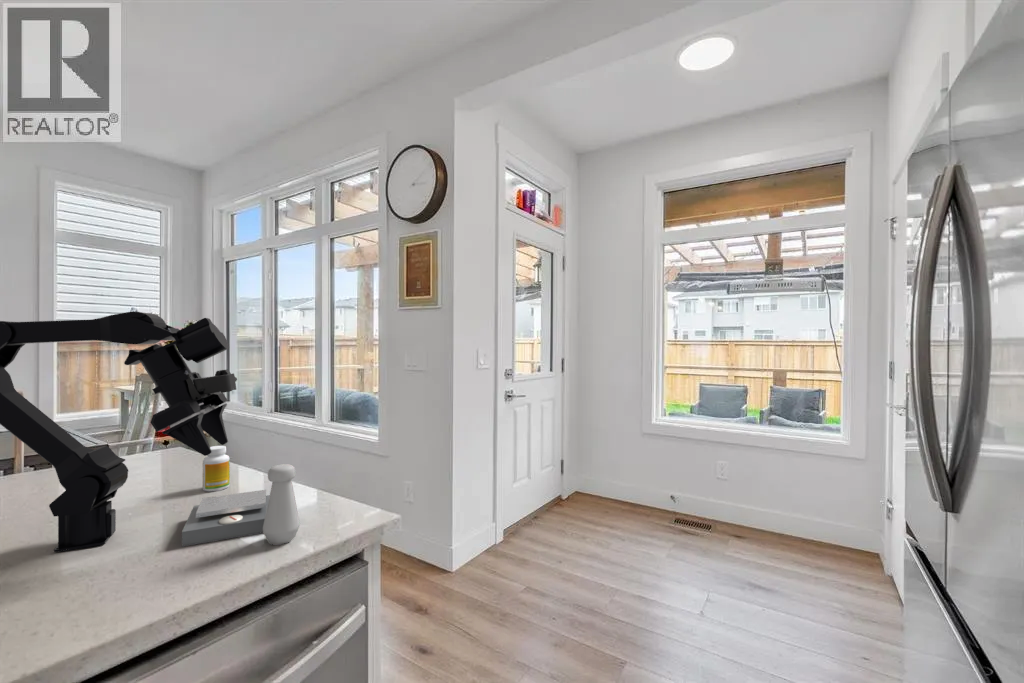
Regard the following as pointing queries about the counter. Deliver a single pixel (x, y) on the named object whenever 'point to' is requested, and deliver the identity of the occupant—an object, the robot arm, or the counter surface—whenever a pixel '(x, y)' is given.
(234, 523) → the scale
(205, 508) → the scale pan
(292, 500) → the salt shaker
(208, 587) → the counter surface
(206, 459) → the supplement bottle
